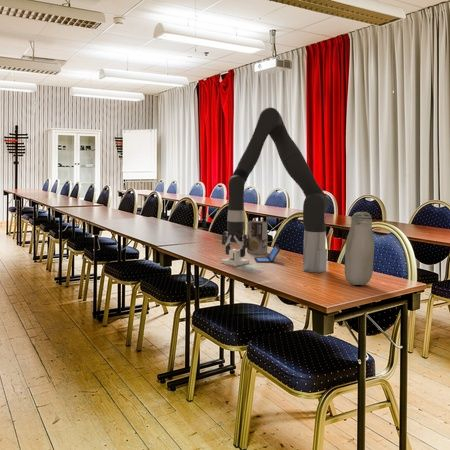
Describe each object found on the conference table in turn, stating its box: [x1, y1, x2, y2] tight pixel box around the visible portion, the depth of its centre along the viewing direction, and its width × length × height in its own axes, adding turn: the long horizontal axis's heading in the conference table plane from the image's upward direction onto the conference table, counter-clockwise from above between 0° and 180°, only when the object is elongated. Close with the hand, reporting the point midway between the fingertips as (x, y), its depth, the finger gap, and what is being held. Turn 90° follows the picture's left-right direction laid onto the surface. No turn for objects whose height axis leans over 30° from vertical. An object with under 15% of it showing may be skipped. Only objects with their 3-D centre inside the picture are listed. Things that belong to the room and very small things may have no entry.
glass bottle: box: [344, 211, 375, 286], centre depth 184 cm, size 10×10×28 cm
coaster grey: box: [245, 268, 265, 274], centre depth 204 cm, size 6×6×1 cm
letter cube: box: [228, 248, 243, 262], centre depth 220 cm, size 4×4×6 cm
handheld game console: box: [253, 244, 281, 264], centre depth 228 cm, size 12×11×7 cm
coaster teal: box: [235, 265, 254, 271], centre depth 210 cm, size 6×6×1 cm
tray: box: [220, 257, 250, 267], centre depth 220 cm, size 9×9×2 cm
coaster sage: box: [246, 264, 265, 269], centre depth 214 cm, size 6×6×1 cm
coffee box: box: [246, 220, 269, 255], centre depth 250 cm, size 9×6×16 cm
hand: (235, 255), depth 220 cm, fingers open, 8 cm apart
